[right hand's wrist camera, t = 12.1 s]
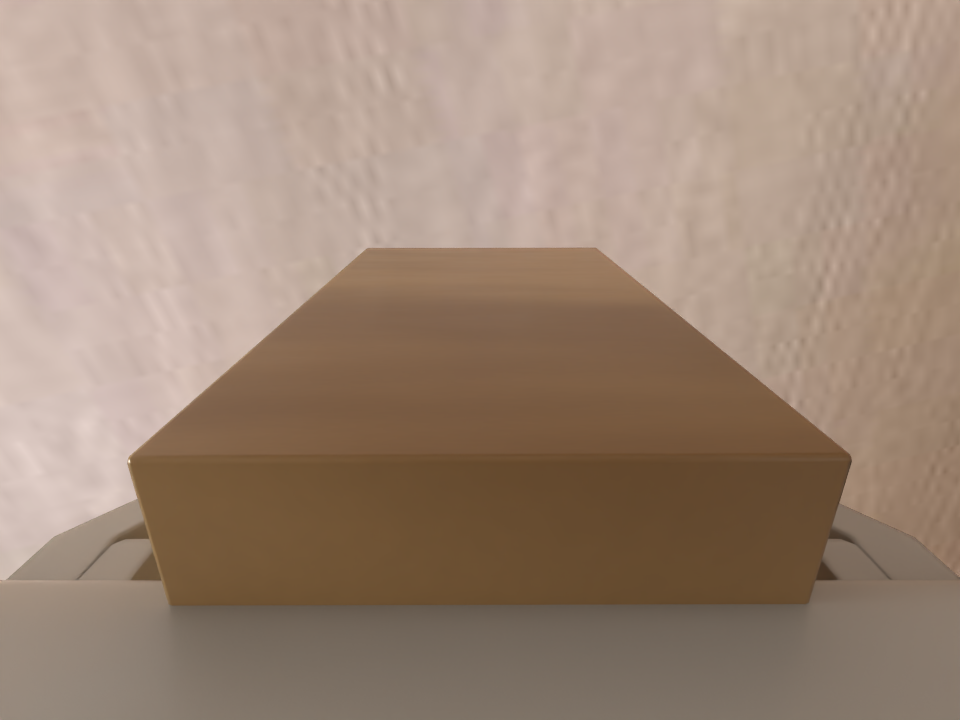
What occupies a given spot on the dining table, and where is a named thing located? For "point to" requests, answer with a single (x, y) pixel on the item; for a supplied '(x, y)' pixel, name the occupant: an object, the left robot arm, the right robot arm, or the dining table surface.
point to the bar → (487, 450)
